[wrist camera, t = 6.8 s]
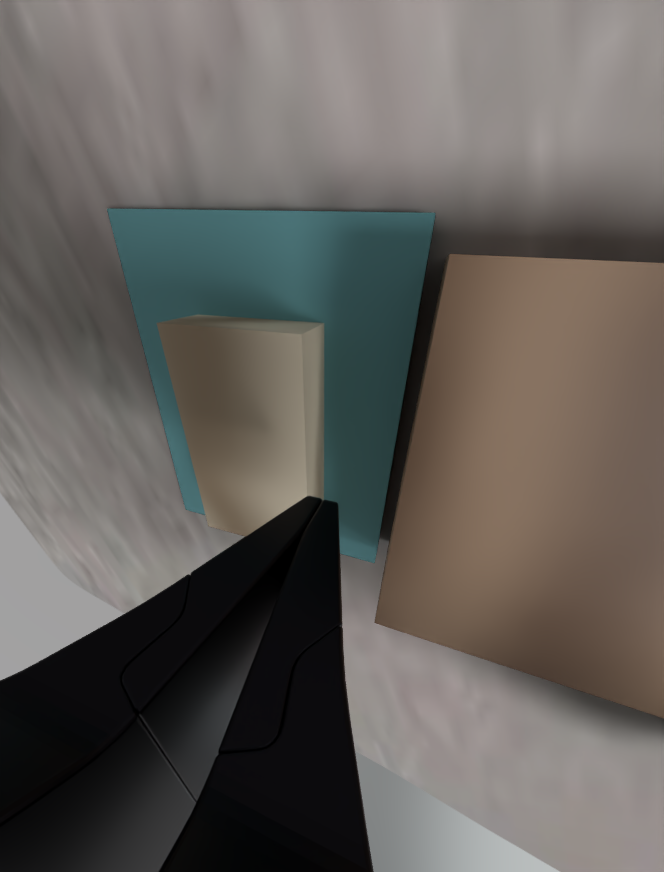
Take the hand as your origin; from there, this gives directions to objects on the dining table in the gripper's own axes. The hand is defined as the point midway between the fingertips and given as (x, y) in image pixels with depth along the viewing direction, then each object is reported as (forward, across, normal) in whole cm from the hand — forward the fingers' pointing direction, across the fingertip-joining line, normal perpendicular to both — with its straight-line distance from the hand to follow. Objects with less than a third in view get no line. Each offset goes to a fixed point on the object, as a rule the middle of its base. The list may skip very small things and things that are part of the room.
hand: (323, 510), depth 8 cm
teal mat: (+5, +4, 0) cm, 6 cm away
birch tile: (+2, +4, +1) cm, 5 cm away
